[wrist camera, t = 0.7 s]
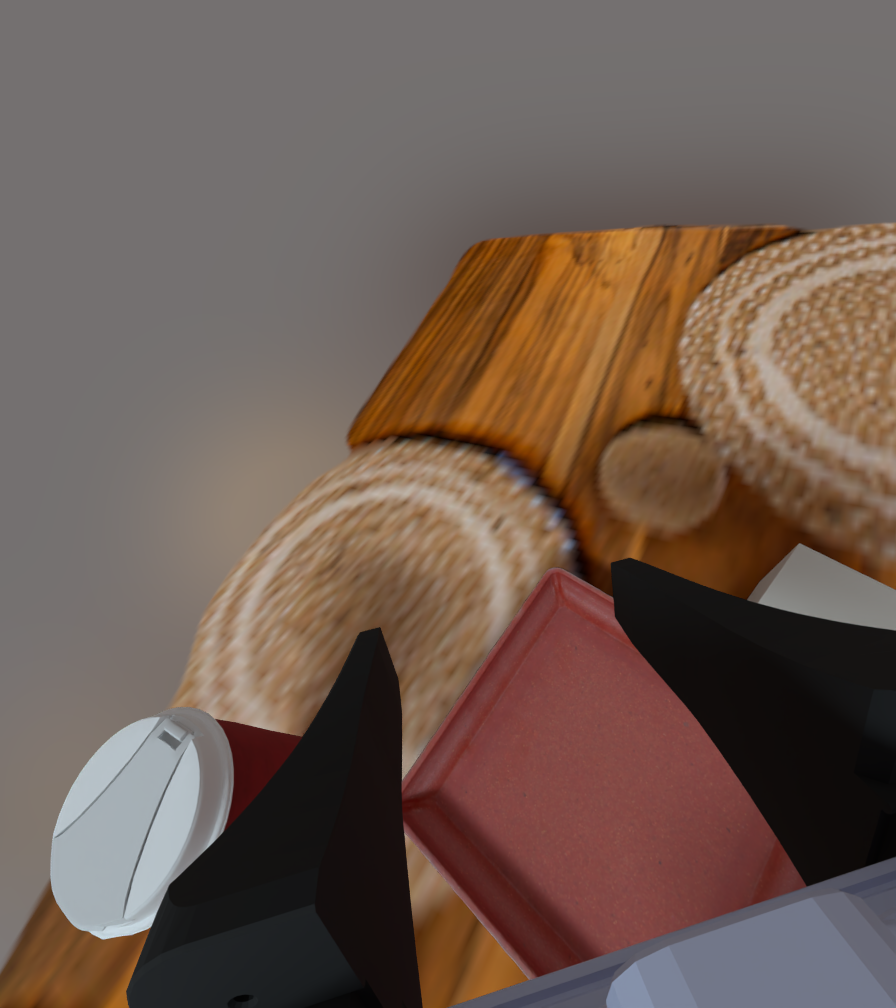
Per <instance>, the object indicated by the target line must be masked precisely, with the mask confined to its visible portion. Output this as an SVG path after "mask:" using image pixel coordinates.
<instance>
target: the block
mask: <svg viewBox="0 0 896 1008" xmlns="http://www.w3.org/2000/svg"><path fill="white" fill-rule="evenodd" d="M747 600H748V601H752V602H755V603H759V604H763V605H766V606H770V607H774V608H778V609H782V610H786V611H790V612H794V613H798V614H803V615H808V616H813V617H818V618H823V619H828V620H833V621H838V622H844V623H849V624H855V625H861V626H868V627H875V628H882V629H889V630H896V590H894V589H892V588H890V587H888V586H886V585H884V584H882V583H880V582H878V581H876V580H874V579H872V578H870V577H868V576H866V575H864V574H862V573H859V572H857V571H855V570H853V569H851V568H849V567H847V566H845V565H843V564H841V563H839V562H837V561H835V560H833V559H831V558H829V557H827V556H825V555H823V554H821V553H818V552H816V551H814V550H812V549H810V548H808V547H806V546H804V545H802V544H800V543H799V544H798V545H797V546H796V547H795V548H794V549H793V550H792V551H791V552H790V553H789V554H788V555H787V556H786V557H785V558H784V559H783V560H781V561H780V562H779V563H778V564H777V565H776V566H775V567H774V568H773V569H772V570H771V571H770V572H769V573H768V574H767V575H766V576H765V577H764V578H763V579H762V580H761V581H760V582H759V583H758V585H757V586H756V588H755V589H754V590H753V592H752V593H751V595H750V596H749V598H748V599H747Z"/></svg>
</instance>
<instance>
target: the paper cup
mask: <svg viewBox="0 0 896 1008" xmlns="http://www.w3.org/2000/svg"><path fill="white" fill-rule="evenodd" d="M301 738H302V737H300V736H295V735H290V734H285V733H280V732H275V731H270V730H266V729H262V728H257V727H253V726H249V725H244V724H240V723H236V722H230V721H223V720H217V719H214V718H213V717H212V716H211V715H209V714H208V713H206V712H204V711H202V710H200V709H195V708H191V707H177V708H173V709H168V710H165V711H163V712H160V713H158V714H156V715H153V716H151V717H147V718H144V719H141V720H139V721H136V722H134V723H132V724H130V725H129V726H127V727H125V728H123V729H122V730H120V731H119V732H118V733H116V734H115V735H114V736H112V737H111V738H110V739H109V740H108V741H107V742H106V743H105V744H103V746H101V747H100V748H99V750H98V751H97V752H96V753H95V754H94V755H93V756H92V758H91V759H90V760H89V761H88V763H87V764H86V766H85V767H84V768H83V770H82V771H81V773H80V774H79V776H78V778H77V779H76V781H75V782H74V784H73V786H72V788H71V790H70V792H69V794H68V796H67V798H66V800H65V802H64V805H63V807H62V809H61V812H60V814H59V817H58V820H57V824H56V827H55V830H54V834H53V840H52V851H51V875H50V877H51V885H52V891H53V894H54V897H55V899H56V902H57V904H58V905H59V907H60V908H61V910H62V911H63V913H64V914H65V916H66V917H67V918H68V920H69V921H70V922H71V923H72V924H73V925H74V926H75V927H77V928H78V929H80V930H84V931H89V932H90V933H91V934H93V935H95V936H97V937H99V938H101V939H107V938H113V937H118V936H126V935H133V934H135V933H138V932H141V931H143V930H146V929H148V928H150V927H151V926H152V924H153V921H154V919H155V916H156V913H157V911H158V909H159V907H160V904H161V902H162V900H163V898H164V895H165V893H166V891H167V889H168V886H169V884H170V883H172V882H173V881H174V880H175V879H176V878H177V877H178V876H179V875H180V874H181V873H182V872H183V871H184V870H185V869H186V868H187V867H188V866H189V865H191V864H192V863H193V862H194V861H195V860H196V859H197V858H198V857H199V856H200V855H201V854H202V853H203V852H204V851H205V850H206V849H207V848H208V847H209V846H210V845H211V844H212V843H213V842H214V841H215V840H216V839H217V838H218V837H219V836H220V835H221V834H222V833H223V832H224V831H225V830H226V829H227V828H228V827H229V826H230V825H231V824H232V823H233V821H234V820H235V819H236V818H237V817H238V816H239V815H240V814H241V813H242V812H243V811H244V810H245V808H246V807H247V806H248V805H249V804H250V803H251V802H252V801H253V799H254V798H255V797H256V796H257V795H258V794H259V793H260V791H261V790H262V789H263V788H264V787H265V785H266V784H267V783H268V782H269V780H270V779H271V778H272V777H273V775H274V774H275V773H276V772H277V770H278V769H279V768H280V767H281V765H282V764H283V763H284V762H285V760H286V759H287V758H288V757H289V755H290V754H291V753H292V751H293V750H294V748H295V747H296V746H297V744H298V743H299V741H300V740H301Z"/></svg>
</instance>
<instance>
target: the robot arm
mask: <svg viewBox="0 0 896 1008" xmlns="http://www.w3.org/2000/svg"><path fill="white" fill-rule="evenodd" d="M611 573H612V587H613V600H614V613H615V618H616V620H617V621H618V623H619V624H620V626H621V627H622V629H623V631H624V632H625V634H626V635H627V637H628V638H629V639H630V641H631V642H632V644H633V645H634V646H635V648H636V649H637V650H638V651H639V652H640V654H641V655H642V656H643V657H644V658H645V659H646V661H647V662H648V663H649V664H650V665H651V667H652V668H653V669H654V670H655V671H656V672H657V673H658V675H659V676H660V677H661V678H662V679H663V680H664V682H665V683H666V684H667V685H668V686H669V687H670V688H671V690H672V691H673V692H674V693H675V694H676V695H677V697H678V698H679V699H680V700H681V701H682V702H683V703H684V705H685V706H686V707H687V708H688V709H689V711H690V712H691V713H692V714H693V716H694V717H695V718H696V719H697V721H698V722H699V723H700V725H701V726H702V728H703V729H704V730H705V732H706V733H707V735H708V736H709V737H710V739H711V740H712V742H713V743H714V744H715V746H716V747H717V749H718V750H719V751H720V753H721V754H722V756H723V757H724V759H725V760H726V762H727V763H728V764H729V766H730V767H731V769H732V770H733V772H734V773H735V775H736V776H737V778H738V779H739V781H740V782H741V784H742V785H743V786H744V788H745V789H746V791H747V792H748V794H749V795H750V797H751V799H752V800H753V802H754V803H755V805H756V806H757V808H758V809H759V811H760V812H761V814H762V816H763V817H764V819H765V820H766V822H767V823H768V825H769V826H770V828H771V829H772V831H773V833H774V834H775V836H776V837H777V839H778V840H779V842H780V844H781V845H782V847H783V849H784V850H785V852H786V853H787V855H788V857H789V858H790V860H791V862H792V863H793V865H794V866H795V868H796V870H797V871H798V873H799V875H800V876H801V878H802V880H803V881H804V883H805V884H806V886H807V887H805V888H802V889H799V890H796V891H793V892H790V893H787V894H784V895H781V896H778V897H775V898H772V899H769V900H766V901H763V902H760V903H757V904H754V905H751V906H748V907H745V908H742V909H739V910H736V911H733V912H730V913H727V914H724V915H721V916H718V917H716V918H713V919H710V920H707V921H704V922H701V923H698V924H695V925H692V926H689V927H686V928H683V929H680V930H677V931H674V932H671V933H668V934H665V935H662V936H659V937H656V938H653V939H650V940H647V941H644V942H641V943H638V944H635V945H632V946H629V947H626V948H623V949H620V950H617V951H614V952H611V953H608V954H606V955H603V956H600V957H597V958H594V959H591V960H588V961H585V962H582V963H579V964H576V965H573V966H570V967H567V968H564V969H561V970H558V971H555V972H552V973H549V974H546V975H543V976H540V977H537V978H534V979H531V980H528V981H525V982H522V983H519V984H516V985H513V986H510V987H507V988H504V989H501V990H499V991H496V992H493V993H490V994H487V995H484V996H481V997H478V998H475V999H472V1000H469V1001H466V1002H463V1003H460V1004H457V1005H454V1006H451V1007H448V1008H896V630H889V629H882V628H875V627H868V626H861V625H855V624H849V623H844V622H838V621H833V620H828V619H823V618H818V617H813V616H808V615H803V614H798V613H794V612H790V611H786V610H782V609H778V608H774V607H770V606H766V605H763V604H759V603H755V602H752V601H748V600H745V599H742V598H738V597H735V596H732V595H729V594H726V593H723V592H720V591H717V590H714V589H711V588H709V587H706V586H703V585H700V584H697V583H695V582H692V581H689V580H687V579H684V578H682V577H679V576H676V575H674V574H671V573H669V572H666V571H664V570H661V569H659V568H656V567H654V566H651V565H649V564H646V563H643V562H641V561H638V560H635V559H632V558H627V559H623V560H620V561H616V562H612V563H611ZM126 993H127V1000H128V1005H129V1007H130V1008H423V1006H422V998H421V989H420V981H419V973H418V964H417V956H416V947H415V937H414V928H413V919H412V910H411V900H410V890H409V880H408V869H407V859H406V848H405V836H404V824H403V812H402V708H401V698H400V689H399V681H398V677H397V674H396V671H395V668H394V665H393V662H392V660H391V657H390V654H389V651H388V648H387V645H386V642H385V640H384V637H383V634H382V631H381V628H380V627H378V628H375V629H371V630H368V631H364V632H360V633H359V635H358V636H357V639H356V641H355V643H354V645H353V647H352V649H351V651H350V654H349V656H348V658H347V660H346V662H345V664H344V666H343V668H342V670H341V672H340V674H339V676H338V678H337V680H336V682H335V683H334V685H333V687H332V689H331V691H330V693H329V695H328V696H327V698H326V700H325V701H324V703H323V705H322V707H321V708H320V710H319V712H318V713H317V715H316V717H315V718H314V720H313V722H312V723H311V725H310V726H309V728H308V729H307V731H306V732H305V734H304V735H303V737H302V738H301V740H300V741H299V743H298V744H297V746H296V747H295V748H294V750H293V751H292V753H291V754H290V755H289V757H288V758H287V759H286V760H285V762H284V763H283V764H282V765H281V767H280V768H279V769H278V770H277V772H276V773H275V774H274V775H273V777H272V778H271V779H270V780H269V782H268V783H267V784H266V785H265V787H264V788H263V789H262V790H261V791H260V793H259V794H258V795H257V796H256V797H255V798H254V799H253V801H252V802H251V803H250V804H249V805H248V806H247V807H246V808H245V810H244V811H243V812H242V813H241V814H240V815H239V816H238V817H237V818H236V819H235V820H234V821H233V823H232V824H231V825H230V826H229V827H228V828H227V829H226V830H225V831H224V832H223V833H222V834H221V835H220V836H219V837H218V838H217V839H216V840H215V841H214V842H213V843H212V844H211V845H210V846H209V847H208V848H207V849H206V850H205V851H204V852H203V853H202V854H201V855H200V856H199V857H198V858H197V859H196V860H195V861H194V862H193V863H192V864H191V865H189V866H188V867H187V868H186V869H185V870H184V871H183V872H182V873H181V874H180V875H179V876H178V877H177V878H176V879H175V880H174V881H173V882H172V883H170V884H169V886H168V889H167V891H166V893H165V895H164V898H163V900H162V902H161V904H160V907H159V909H158V911H157V913H156V916H155V919H154V921H153V924H152V926H151V929H150V931H149V934H148V937H147V939H146V942H145V944H144V947H143V949H142V952H141V955H140V957H139V960H138V962H137V965H136V968H135V970H134V973H133V975H132V978H131V980H130V983H129V986H128V988H127V991H126Z"/></svg>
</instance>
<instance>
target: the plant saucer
mask: <svg viewBox="0 0 896 1008" xmlns="http://www.w3.org/2000/svg"><path fill="white" fill-rule="evenodd" d="M402 812H403V824H404V832H405V833H406V835H407V836H408V837H409V838H410V839H411V840H412V841H413V843H414V844H415V845H416V846H417V847H418V848H419V850H420V851H421V852H422V854H423V855H424V856H425V857H426V858H427V859H428V860H429V861H430V863H431V864H432V865H433V866H434V868H435V869H436V870H437V871H438V872H439V874H440V875H441V876H442V877H443V878H444V879H445V880H446V882H447V883H448V884H449V885H450V886H451V887H452V889H453V890H454V891H455V893H456V894H457V895H458V896H459V897H460V898H461V899H462V900H463V901H464V903H465V904H466V905H467V906H468V908H469V909H470V910H471V911H472V912H473V913H474V915H475V916H476V917H477V918H478V920H479V921H480V922H481V923H482V924H483V925H484V927H485V928H486V929H487V930H488V931H489V932H490V934H491V935H492V936H493V937H494V938H495V939H496V940H497V942H498V943H499V944H500V945H501V947H502V948H503V949H504V951H505V952H506V953H507V954H508V955H509V956H510V957H511V958H512V960H513V961H514V962H515V963H516V964H517V965H518V967H519V968H520V969H521V970H522V972H523V973H524V974H525V975H526V976H527V977H528V978H529V980H531V979H534V978H537V977H540V976H543V975H546V974H549V973H552V972H555V971H558V970H561V969H564V968H567V967H570V966H573V965H576V964H579V963H582V962H585V961H588V960H591V959H594V958H597V957H600V956H603V955H606V954H608V953H611V952H614V951H617V950H620V949H623V948H626V947H629V946H632V945H635V944H638V943H641V942H644V941H647V940H650V939H653V938H656V937H659V936H662V935H665V934H668V933H671V932H674V931H677V930H680V929H683V928H686V927H689V926H692V925H695V924H698V923H701V922H704V921H707V920H710V919H713V918H716V917H718V916H721V915H724V914H727V913H730V912H733V911H736V910H739V909H742V908H745V907H748V906H751V905H754V904H757V903H760V902H763V901H766V900H769V899H772V898H775V897H778V896H781V895H784V894H787V893H790V892H793V891H796V890H799V889H802V888H805V887H807V886H806V884H805V883H804V881H803V880H802V878H801V876H800V875H799V873H798V871H797V870H796V868H795V866H794V865H793V863H792V862H791V860H790V858H789V857H788V855H787V853H786V852H785V850H784V849H783V847H782V845H781V844H780V842H779V840H778V839H777V837H776V836H775V834H774V833H773V831H772V829H771V828H770V826H769V825H768V823H767V822H766V820H765V819H764V817H763V816H762V814H761V812H760V811H759V809H758V808H757V806H756V805H755V803H754V802H753V800H752V799H751V797H750V795H749V794H748V792H747V791H746V789H745V788H744V786H743V785H742V784H741V782H740V781H739V779H738V778H737V776H736V775H735V773H734V772H733V770H732V769H731V767H730V766H729V764H728V763H727V762H726V760H725V759H724V757H723V756H722V754H721V753H720V751H719V750H718V749H717V747H716V746H715V744H714V743H713V742H712V740H711V739H710V737H709V736H708V735H707V733H706V732H705V730H704V729H703V728H702V726H701V725H700V723H699V722H698V721H697V719H696V718H695V717H694V716H693V714H692V713H691V712H690V711H689V709H688V708H687V707H686V706H685V705H684V703H683V702H682V701H681V700H680V699H679V698H678V697H677V695H676V694H675V693H674V692H673V691H672V690H671V688H670V687H669V686H668V685H667V684H666V683H665V682H664V680H663V679H662V678H661V677H660V676H659V675H658V673H657V672H656V671H655V670H654V669H653V668H652V667H651V665H650V664H649V663H648V662H647V661H646V659H645V658H644V657H643V656H642V655H641V654H640V652H639V651H638V650H637V649H636V648H635V646H634V645H633V644H632V642H631V641H630V639H629V638H628V637H627V635H626V634H625V632H624V631H623V629H622V627H621V626H620V624H619V623H618V621H617V620H616V618H615V613H614V600H613V597H611V596H609V595H608V594H606V593H604V592H602V591H601V590H599V589H597V588H596V587H594V586H592V585H590V584H589V583H587V582H585V581H583V580H582V579H580V578H578V577H577V576H575V575H573V574H572V573H570V572H568V571H566V570H564V569H562V568H558V567H554V568H550V569H549V570H548V571H546V572H545V574H544V575H543V577H542V578H541V580H540V581H539V583H538V584H537V586H536V587H535V588H534V590H533V591H532V593H531V594H530V595H529V597H528V598H527V599H526V601H525V602H524V604H523V605H522V607H521V609H520V610H519V611H518V613H517V614H516V616H515V617H514V618H513V620H512V621H511V623H510V624H509V626H508V627H507V629H506V630H505V631H504V633H503V635H502V636H501V637H500V639H499V640H498V642H497V643H496V644H495V646H494V647H493V648H492V650H491V651H490V653H489V655H488V656H487V658H486V659H485V661H484V662H483V664H482V665H481V667H480V668H479V669H478V671H477V672H476V674H475V676H474V677H473V678H472V680H471V681H470V683H469V684H468V686H467V687H466V689H465V690H464V692H463V693H462V694H461V696H460V697H459V698H458V700H457V702H456V703H455V705H454V706H453V708H452V709H451V711H450V712H449V714H448V715H447V716H446V718H445V719H444V721H443V723H442V724H441V725H440V727H439V728H438V730H437V731H436V733H435V734H434V736H433V737H432V738H431V740H430V741H429V742H428V744H427V745H426V747H425V749H424V750H423V752H422V753H421V755H420V756H419V757H418V759H417V760H416V762H415V763H414V765H413V766H412V767H411V769H410V770H409V772H408V773H407V775H406V776H405V777H404V779H403V780H402Z"/></svg>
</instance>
